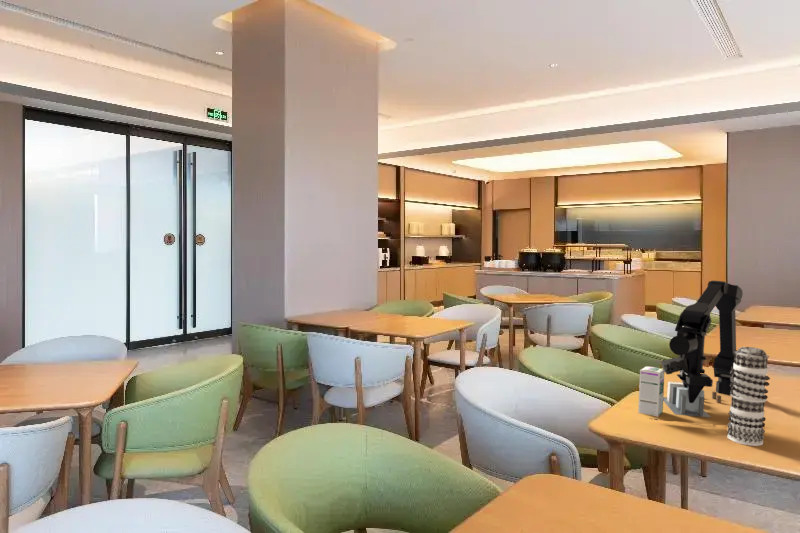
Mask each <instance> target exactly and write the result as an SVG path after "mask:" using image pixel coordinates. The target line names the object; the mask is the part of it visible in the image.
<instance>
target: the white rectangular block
mask: <svg viewBox="0 0 800 533" xmlns="http://www.w3.org/2000/svg"><path fill="white" fill-rule="evenodd" d="M672 386H676V387H682V388H684V386H683V382H678V381H676V382H675V381H668V382H667V391H666V393H667V395H666V397H667V400H668V401H669V402H671V398H672ZM676 394H677V391H676Z"/></svg>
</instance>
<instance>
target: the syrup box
mask: <svg viewBox="0 0 800 533" xmlns="http://www.w3.org/2000/svg"><path fill="white" fill-rule="evenodd" d="M638 385H639V388H638V409H637V410H638V413H640V414H644V415H647V416H652V417H657V418H653V419H654V420H653V421H659V416H661V415H662V414H663V411H664V401H663V397H664V391H665V388H664V387H665V372H664V369H663V368H660V367H656V366H644V367H643V368H641V369H639V384H638ZM649 420H652V418H650V417H649Z"/></svg>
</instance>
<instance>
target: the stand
mask: <svg viewBox="0 0 800 533" xmlns="http://www.w3.org/2000/svg"><path fill="white" fill-rule="evenodd" d="M711 399H712V400H716V402H715V403H717V404H721V403H722V396H721V395H718V393H717V392H716V391H712V392H711Z"/></svg>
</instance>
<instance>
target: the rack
mask: <svg viewBox="0 0 800 533" xmlns="http://www.w3.org/2000/svg"><path fill="white" fill-rule="evenodd" d="M676 391H677V387H676V386H672V398H671V402H669V401H668V400H667V396H663V403H664V404H665V405H666V406H667V407H668V408H669V409H670V410H671V411H672V413H673V414H674V415H677V416H678V415H679V416H690V417H701V418H702V417H703V418H711V415H710V414H708V412H707V411H706V410H705V409H704V405H705V396H704V397H699V409H698V410H689V409H685V407H686V396H685V395H681V409H678V408H677V407H676V397H677V394H676Z"/></svg>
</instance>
